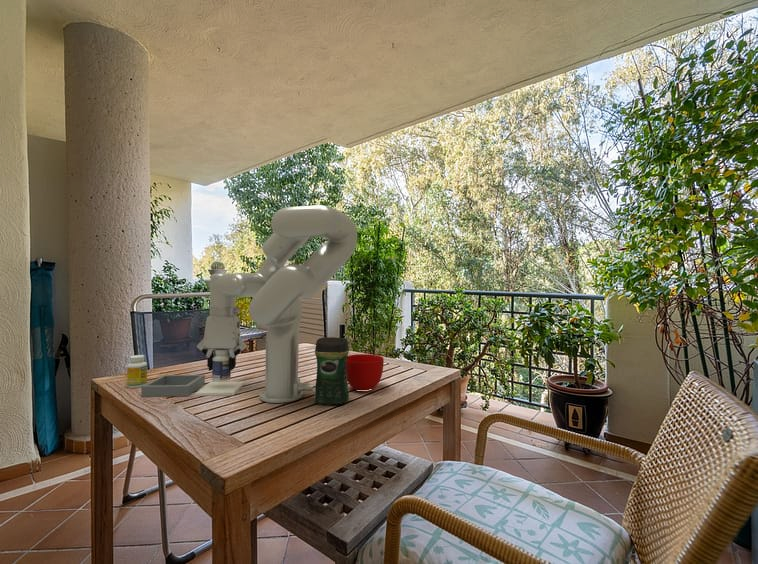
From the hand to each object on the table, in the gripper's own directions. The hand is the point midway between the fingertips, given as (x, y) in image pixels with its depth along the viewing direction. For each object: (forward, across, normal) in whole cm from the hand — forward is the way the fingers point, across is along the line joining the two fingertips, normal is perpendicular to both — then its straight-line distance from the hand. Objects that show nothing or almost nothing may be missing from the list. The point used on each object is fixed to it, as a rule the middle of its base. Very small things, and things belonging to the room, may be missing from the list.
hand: (221, 369), depth 113 cm
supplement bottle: (+7, +28, -5) cm, 29 cm away
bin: (+7, +14, 0) cm, 15 cm away
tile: (+6, 0, 0) cm, 6 cm away
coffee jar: (+6, -35, +13) cm, 38 cm away
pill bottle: (+4, 0, 0) cm, 4 cm away
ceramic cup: (+6, -45, -1) cm, 46 cm away
